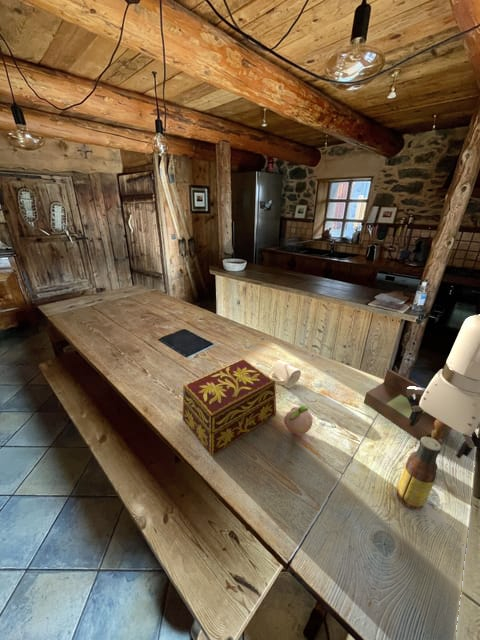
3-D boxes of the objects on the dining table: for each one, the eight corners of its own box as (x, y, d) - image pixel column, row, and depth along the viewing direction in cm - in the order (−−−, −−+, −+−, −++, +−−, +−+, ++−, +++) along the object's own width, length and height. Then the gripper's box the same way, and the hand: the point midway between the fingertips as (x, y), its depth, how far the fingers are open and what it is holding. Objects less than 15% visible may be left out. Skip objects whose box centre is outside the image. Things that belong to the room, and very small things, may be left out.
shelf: (449, 433, 88) (462, 408, 83) (431, 449, 82) (444, 423, 78) (382, 391, 106) (389, 368, 102) (363, 402, 101) (370, 379, 96)
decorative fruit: (301, 447, 82) (305, 424, 78) (279, 433, 87) (281, 410, 83) (315, 429, 89) (319, 406, 84) (293, 417, 94) (297, 395, 89)
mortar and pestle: (403, 460, 79) (422, 415, 71) (419, 453, 81) (439, 409, 73) (424, 480, 73) (447, 434, 66) (440, 472, 76) (464, 427, 68)
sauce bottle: (428, 505, 68) (457, 452, 59) (411, 515, 65) (438, 461, 57) (405, 482, 73) (429, 430, 64) (389, 490, 71) (410, 437, 62)
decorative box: (211, 457, 79) (209, 420, 72) (181, 419, 92) (178, 384, 85) (276, 414, 94) (280, 380, 88) (243, 387, 107) (244, 356, 101)
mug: (282, 371, 117) (283, 356, 114) (299, 381, 111) (302, 366, 108) (264, 383, 110) (265, 367, 106) (281, 394, 104) (283, 378, 100)
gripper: (531, 396, 48) (489, 460, 55) (428, 351, 61) (406, 407, 68) (517, 412, 44) (474, 478, 51) (411, 360, 57) (389, 419, 64)
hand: (435, 438), depth 60 cm, fingers open, 9 cm apart
